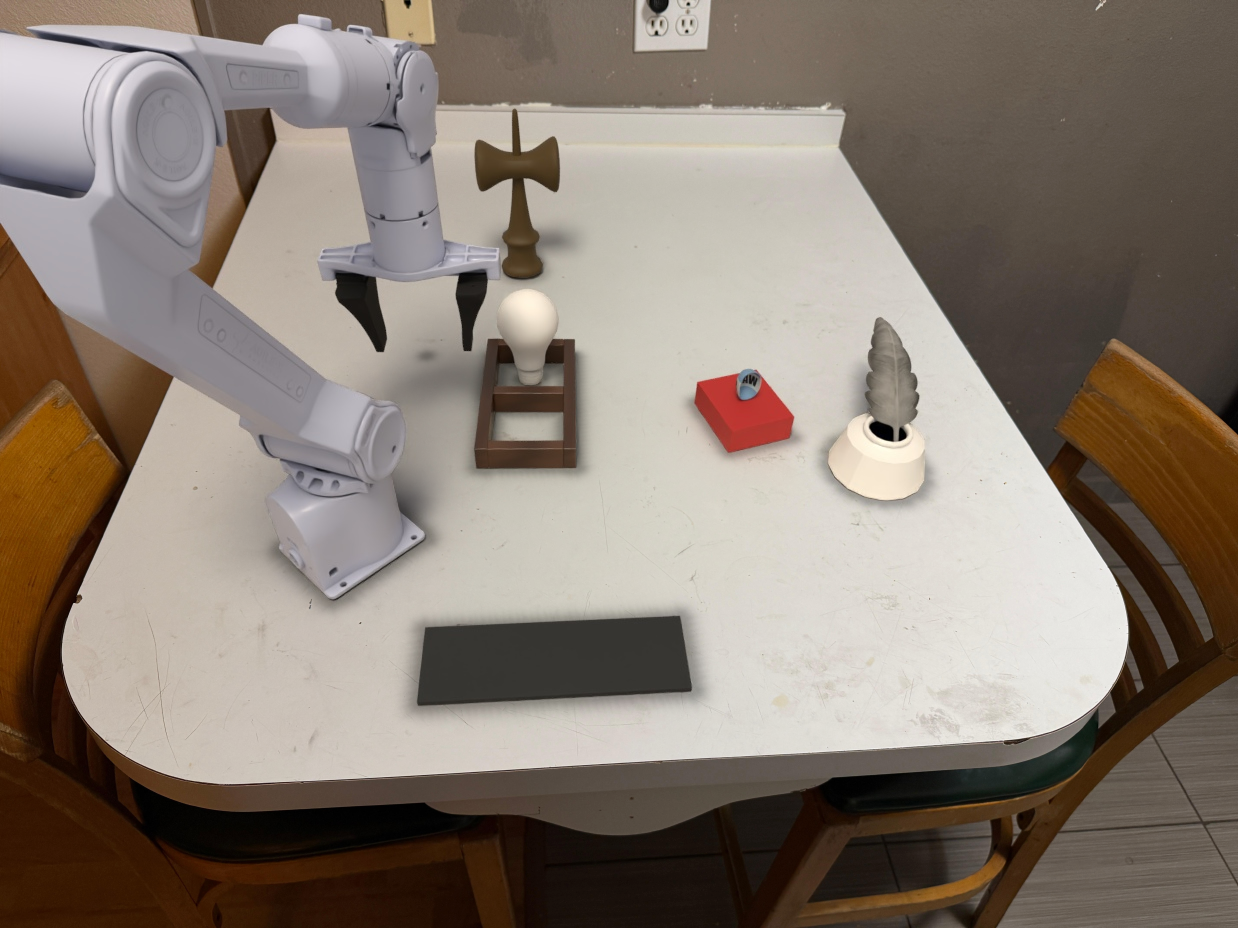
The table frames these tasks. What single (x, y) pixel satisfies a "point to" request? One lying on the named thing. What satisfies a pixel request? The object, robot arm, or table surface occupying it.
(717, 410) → the red slab
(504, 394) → the holder
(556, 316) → the lightbulb
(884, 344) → the inkwell
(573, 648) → the mat
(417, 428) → the table surface
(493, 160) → the kendama
